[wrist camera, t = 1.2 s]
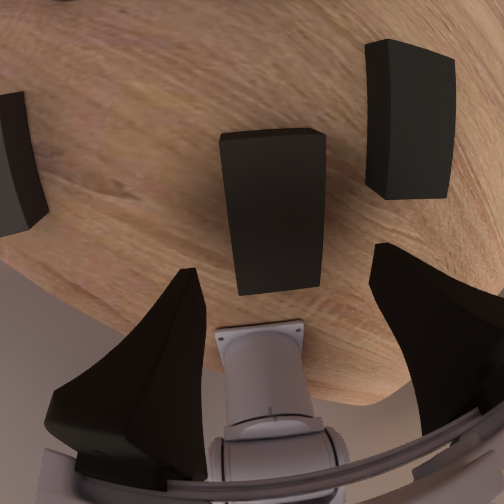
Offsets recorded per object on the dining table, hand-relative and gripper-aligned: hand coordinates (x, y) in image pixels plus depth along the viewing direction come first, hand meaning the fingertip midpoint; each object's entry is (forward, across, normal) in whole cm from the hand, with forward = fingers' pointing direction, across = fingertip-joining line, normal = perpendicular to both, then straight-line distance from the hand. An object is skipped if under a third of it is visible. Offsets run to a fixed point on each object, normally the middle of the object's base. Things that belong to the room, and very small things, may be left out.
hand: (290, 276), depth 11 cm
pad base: (+8, -10, -5) cm, 14 cm away
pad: (+8, +19, -7) cm, 22 cm away
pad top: (+8, 0, 0) cm, 9 cm away
